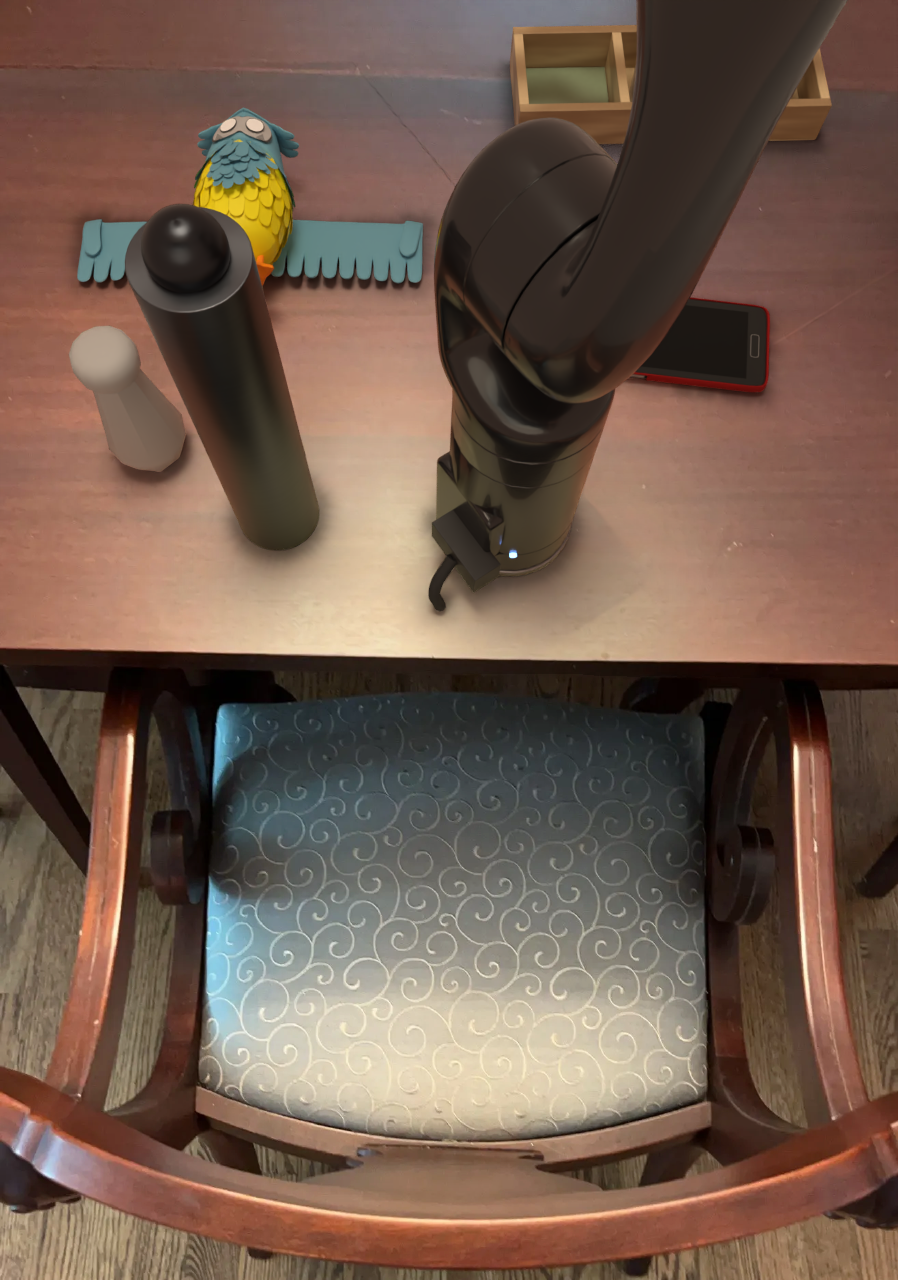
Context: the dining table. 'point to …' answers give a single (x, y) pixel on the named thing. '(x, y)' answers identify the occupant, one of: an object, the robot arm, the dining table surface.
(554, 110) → the spice rack
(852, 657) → the dining table surface
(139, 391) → the salt shaker
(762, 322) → the cell phone
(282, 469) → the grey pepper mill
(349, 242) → the owl figurine
